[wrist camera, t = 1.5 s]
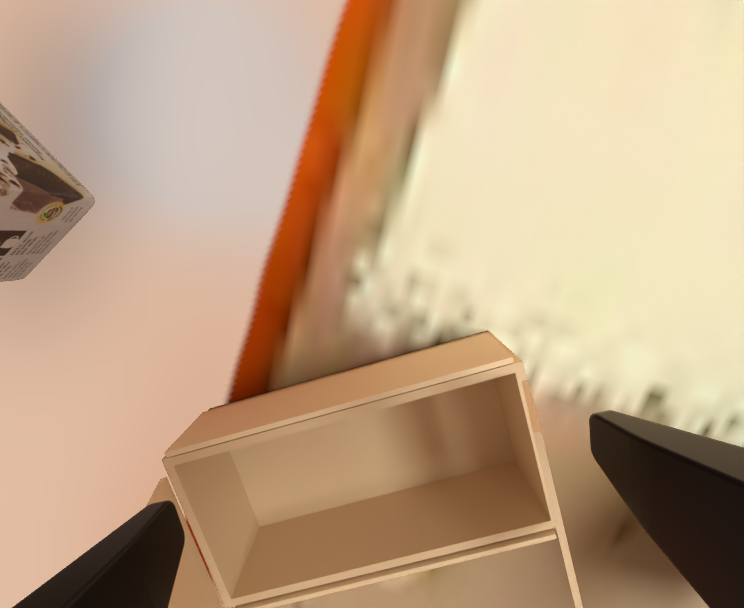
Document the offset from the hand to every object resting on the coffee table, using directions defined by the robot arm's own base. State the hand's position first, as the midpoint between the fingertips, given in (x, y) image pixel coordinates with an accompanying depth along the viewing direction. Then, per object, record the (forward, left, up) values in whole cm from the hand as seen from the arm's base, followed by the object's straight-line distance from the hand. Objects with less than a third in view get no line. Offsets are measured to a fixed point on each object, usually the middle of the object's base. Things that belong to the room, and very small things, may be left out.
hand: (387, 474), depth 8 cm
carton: (-6, +3, -13) cm, 14 cm away
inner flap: (-6, -5, -6) cm, 9 cm away
